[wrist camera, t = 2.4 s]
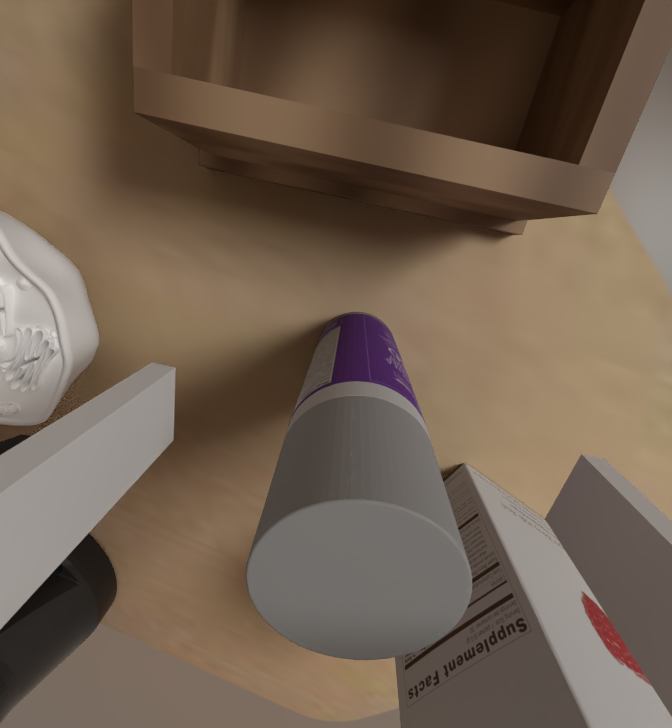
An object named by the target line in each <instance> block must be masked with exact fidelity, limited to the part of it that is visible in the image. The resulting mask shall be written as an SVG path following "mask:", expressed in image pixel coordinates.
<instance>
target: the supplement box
mask: <svg viewBox="0 0 672 728" xmlns="http://www.w3.org/2000/svg"><path fill="white" fill-rule="evenodd" d="M444 486H445V489H446V492H447V495H448V498H449V501H450V505H451V508H452V511H453V514H454V517H455V520H456V524H457V527H458V530H459V533H460V536H461V540H462V543H463V546H464V549H465V552H466V555H467V559H468V562H469V565H470V569H471V574H472V593H471V597H470V601H469V604H468V607H467V609H466V611H465V612H464V614H463V616H462V618H461V619H460V620H459V622H458V623H457V624H456V625H455V626H454V627H453V628H452V629H451V630H450V631H449V632H448V633H447V634H446V635H444V636H443V637H442V638H440V639H439V640H437V641H436V642H434V643H432V644H430V645H428V646H426V647H424V648H422V649H420V650H418V651H415V652H412V653H409V654H405V655H402V656H397V657H395V663H396V675H397V686H398V698H399V710H400V721H401V728H672V717H671V715H670V713H669V712H668V710H667V709H666V707H665V706H664V704H663V703H662V701H661V699H660V698H659V696H658V695H657V693H656V692H655V690H654V688H653V687H652V685H651V684H650V682H649V681H648V679H647V678H646V676H645V674H644V673H643V671H642V670H641V668H640V667H639V665H638V663H637V662H636V660H635V659H634V657H633V656H632V654H631V653H630V651H629V649H628V648H627V646H626V645H625V643H624V642H623V640H622V638H621V637H620V635H619V634H618V632H617V631H616V629H615V628H614V626H613V624H612V623H611V621H610V620H609V618H608V617H607V615H606V613H605V612H604V610H603V609H602V607H601V606H600V604H599V603H598V601H597V599H596V598H595V596H594V595H593V593H592V592H591V590H590V589H589V587H588V585H587V584H586V582H585V581H584V579H583V578H582V576H581V574H580V573H579V571H578V570H577V568H576V567H575V565H574V564H573V562H572V560H571V559H570V557H569V556H568V554H567V553H566V551H565V549H564V548H563V546H562V545H561V543H560V542H559V540H558V539H557V537H556V535H555V534H554V532H553V531H552V529H551V528H550V526H549V524H548V523H547V522H546V521H545V520H543V519H542V518H541V517H539V516H538V515H537V514H535V513H534V512H532V511H531V510H530V509H528V508H527V507H526V506H524V505H523V504H521V503H520V502H519V501H517V500H516V499H514V498H513V497H512V496H510V495H509V494H508V493H506V492H505V491H503V490H502V489H501V488H499V487H498V486H496V485H495V484H494V483H492V482H491V481H490V480H488V479H487V478H485V477H484V476H483V475H481V474H480V473H478V472H477V471H476V470H474V469H473V468H471V467H470V466H468V465H467V464H463V465H462V466H461V467H459V468H458V469H457V470H456V471H455V472H454V473H453V474H452V475H451V476H449V477H448V478H447V479H446V480H445V481H444Z"/></svg>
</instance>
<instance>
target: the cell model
mask: <svg viewBox="0 0 672 728" xmlns="http://www.w3.org/2000/svg"><path fill="white" fill-rule="evenodd" d="M98 346H99V333H98V328H97V324H96V321H95V318H94V315H93V311H92V308H91V305H90V302H89V298H88V294H87V290H86V287H85V283H84V280H83V278H82V276H81V274H80V272H79V270H78V269H77V267H76V266H75V265H74V264H73V263H72V262H71V261H70V260H69V259H68V258H67V257H66V256H65V255H63V254H62V253H61V252H60V251H58V250H57V249H56V248H55V247H54V246H52V245H51V244H50V243H49V242H48V241H46V240H45V239H44V238H43V237H42V236H40V235H39V234H38V233H36V232H35V231H34V230H32V229H31V228H29V227H28V226H26V225H25V224H23V223H22V222H20V221H18V220H17V219H15V218H13V217H11V216H10V215H8V214H6V213H4V212H2V211H0V424H1V425H13V426H31V425H38V424H41V423H43V422H45V421H46V420H47V419H48V418H49V417H50V416H51V414H52V413H53V411H54V409H55V408H56V406H57V405H58V403H59V402H60V400H61V399H62V398H63V396H64V395H65V393H66V392H67V390H68V389H69V387H70V386H71V384H72V383H73V382H74V380H75V379H76V378H77V377H78V376H79V375H80V374H81V373H82V372H83V371H84V370H85V369H86V368H87V367H88V365H89V364H90V363H91V362H92V360H93V358H94V356H95V353H96V351H97V348H98Z"/></svg>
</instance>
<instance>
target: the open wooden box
mask: <svg viewBox="0 0 672 728" xmlns="http://www.w3.org/2000/svg"><path fill="white" fill-rule="evenodd" d="M132 35H133V104H134V112H135V113H136V114H138V115H140V116H142V117H144V118H145V119H147V120H149V121H151V122H153V123H154V124H156V125H158V126H160V127H162V128H163V129H165V130H167V131H169V132H171V133H173V134H174V135H176V136H178V137H180V138H182V139H183V140H185V141H187V142H189V143H191V144H192V145H194V146H196V147H198V148H199V165H201V166H203V167H205V168H208V169H213V170H217V171H222V172H227V173H231V174H236V175H240V176H245V177H250V178H254V179H259V180H263V181H268V182H273V183H277V184H282V185H286V186H291V187H296V188H300V189H305V190H309V191H314V192H319V193H323V194H328V195H332V196H337V197H342V198H346V199H351V200H355V201H360V202H365V203H369V204H374V205H378V206H383V207H388V208H392V209H397V210H402V211H406V212H411V213H415V214H420V215H425V216H429V217H434V218H438V219H443V220H448V221H452V222H457V223H461V224H466V225H471V226H475V227H480V228H484V229H489V230H494V231H498V232H503V233H507V234H512V235H522V234H523V231H524V228H525V226H526V223H527V220H533V219H544V218H556V217H567V216H578V215H589V214H598V211H599V209H600V207H601V205H602V202H603V200H604V198H605V195H606V193H607V191H608V189H609V186H610V184H611V182H612V180H613V177H614V175H615V173H616V170H617V168H618V166H619V163H620V161H621V159H622V157H623V155H624V152H625V150H626V148H627V145H628V143H629V141H630V139H631V136H632V134H633V132H634V129H635V127H636V125H637V123H638V121H639V118H640V116H641V114H642V111H643V109H644V107H645V105H646V102H647V100H648V98H649V96H650V93H651V91H652V89H653V87H654V84H655V82H656V80H657V77H658V75H659V73H660V71H661V68H662V66H663V64H664V61H665V59H666V57H667V55H668V53H669V50H670V48H671V45H672V0H132Z"/></svg>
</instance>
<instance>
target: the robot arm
mask: <svg viewBox="0 0 672 728" xmlns="http://www.w3.org/2000/svg"><path fill="white" fill-rule="evenodd" d="M175 370H176V368H175V367H170V366H166V365H161V364H156V363H150V364H149V365H147V366H145V367H144V368H142V369H140V370H139V371H137V372H135V373H134V374H132V375H131V376H129V377H127V378H126V379H124V380H122V381H121V382H119V383H117V384H116V385H114V386H113V387H111V388H109V389H108V390H106V391H104V392H103V393H101V394H99V395H98V396H96V397H95V398H93V399H91V400H90V401H88V402H86V403H85V404H83V405H81V406H80V407H78V408H77V409H75V410H73V411H72V412H70V413H68V414H67V415H65V416H63V417H62V418H60V419H59V420H57V421H55V422H54V423H52V424H50V425H49V426H47V427H45V428H44V429H42V430H41V431H39V432H37V433H36V434H34V435H32V436H27V435H19V436H16V437H14V438H11V439H8V440H5V441H2V442H0V723H1V722H2V721H3V719H4V718H5V717H6V715H7V714H8V713H9V712H10V711H11V710H12V708H13V707H14V706H16V705H17V704H18V703H19V702H20V701H21V700H22V699H23V698H24V697H25V696H26V695H27V694H28V693H29V692H30V691H32V690H33V689H34V688H35V687H36V686H37V685H38V684H39V683H40V682H41V681H42V680H43V679H44V678H45V677H46V676H47V675H49V674H50V673H51V672H52V671H53V670H54V669H55V668H56V667H57V666H58V665H59V664H60V663H61V662H62V661H64V660H65V658H67V657H68V656H69V655H70V654H71V653H72V652H73V651H74V650H75V649H76V648H77V647H78V646H79V645H80V644H81V643H82V642H84V641H85V640H86V639H87V638H88V637H89V636H90V635H91V633H92V632H93V631H94V630H95V629H96V627H97V626H98V624H99V623H100V621H101V620H102V618H103V617H104V615H105V614H106V612H107V611H108V609H109V608H110V606H111V605H112V603H113V601H114V599H115V596H116V590H117V582H116V576H115V572H114V569H113V567H112V565H111V563H110V561H109V559H108V557H107V556H106V554H105V553H104V551H103V550H102V549H101V547H100V546H99V545H98V544H97V543H96V542H95V541H94V540H93V539H92V538H91V537H90V536H89V535H88V533H89V532H90V531H91V530H92V529H93V528H94V527H95V526H96V524H97V523H98V522H99V521H100V520H101V519H102V518H103V517H104V516H105V515H106V514H107V512H108V511H109V510H110V509H111V508H112V507H113V506H114V505H115V504H116V503H117V502H118V500H119V499H120V498H121V497H122V496H123V495H124V494H125V493H126V492H127V491H128V490H129V488H130V487H131V486H132V485H133V484H134V483H135V482H136V481H137V480H138V479H139V477H140V476H141V475H142V474H143V473H144V472H145V471H146V470H147V469H148V468H149V467H150V465H151V464H152V463H153V462H154V461H155V460H156V459H157V458H158V457H159V456H160V455H161V453H162V452H163V451H164V450H165V449H166V448H167V447H168V446H169V445H170V444H171V442H172V441H173V440H174V409H175ZM545 520H546V521H547V523H548V524H549V526H550V528H551V529H552V531H553V532H554V534H555V535H556V537H557V539H558V540H559V542H560V543H561V545H562V546H563V548H564V549H565V551H566V553H567V554H568V556H569V557H570V559H571V560H572V562H573V564H574V565H575V567H576V568H577V570H578V571H579V573H580V574H581V576H582V578H583V579H584V581H585V582H586V584H587V585H588V587H589V589H590V590H591V592H592V593H593V595H594V596H595V598H596V599H597V601H598V603H599V604H600V606H601V607H602V609H603V610H604V612H605V613H606V615H607V617H608V618H609V620H610V621H611V623H612V624H613V626H614V628H615V629H616V631H617V632H618V634H619V635H620V637H621V638H622V640H623V642H624V643H625V645H626V646H627V648H628V649H629V651H630V653H631V654H632V656H633V657H634V659H635V660H636V662H637V663H638V665H639V667H640V668H641V670H642V671H643V673H644V674H645V676H646V678H647V679H648V681H649V682H650V684H651V685H652V687H653V688H654V690H655V692H656V693H657V695H658V696H659V698H660V699H661V701H662V703H663V704H664V706H665V707H666V709H667V710H668V712H669V713H670V715H671V717H672V521H671V520H670V519H669V518H668V517H667V516H666V515H665V514H664V513H663V512H661V511H660V510H659V509H658V508H657V507H656V506H655V505H654V504H653V503H652V502H651V501H650V500H649V499H647V498H646V497H645V496H644V495H643V494H642V493H641V492H640V491H639V490H638V489H637V488H636V487H635V486H633V485H632V484H631V483H630V482H629V481H628V480H627V479H626V478H625V477H624V476H623V475H622V474H621V473H619V472H618V471H617V470H616V469H615V468H614V467H613V466H612V465H611V464H610V463H609V462H608V461H607V460H605V459H602V458H597V457H592V456H588V455H583V454H581V456H580V458H579V460H578V461H577V463H576V465H575V467H574V468H573V470H572V472H571V474H570V475H569V477H568V479H567V481H566V483H565V484H564V486H563V488H562V490H561V491H560V493H559V495H558V497H557V498H556V500H555V502H554V504H553V505H552V507H551V509H550V511H549V513H548V514H547V516H546V518H545Z"/></svg>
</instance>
